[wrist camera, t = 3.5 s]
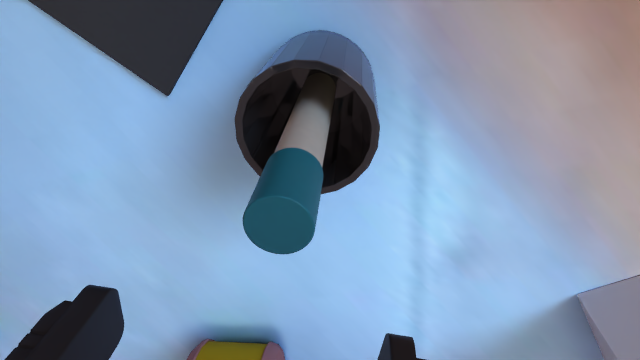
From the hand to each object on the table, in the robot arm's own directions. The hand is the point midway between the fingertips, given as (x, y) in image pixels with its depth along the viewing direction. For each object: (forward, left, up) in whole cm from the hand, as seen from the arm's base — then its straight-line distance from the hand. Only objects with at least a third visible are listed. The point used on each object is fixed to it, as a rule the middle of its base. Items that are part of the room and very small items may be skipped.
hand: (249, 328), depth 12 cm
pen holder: (0, 0, -25) cm, 25 cm away
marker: (0, 0, -24) cm, 24 cm away
